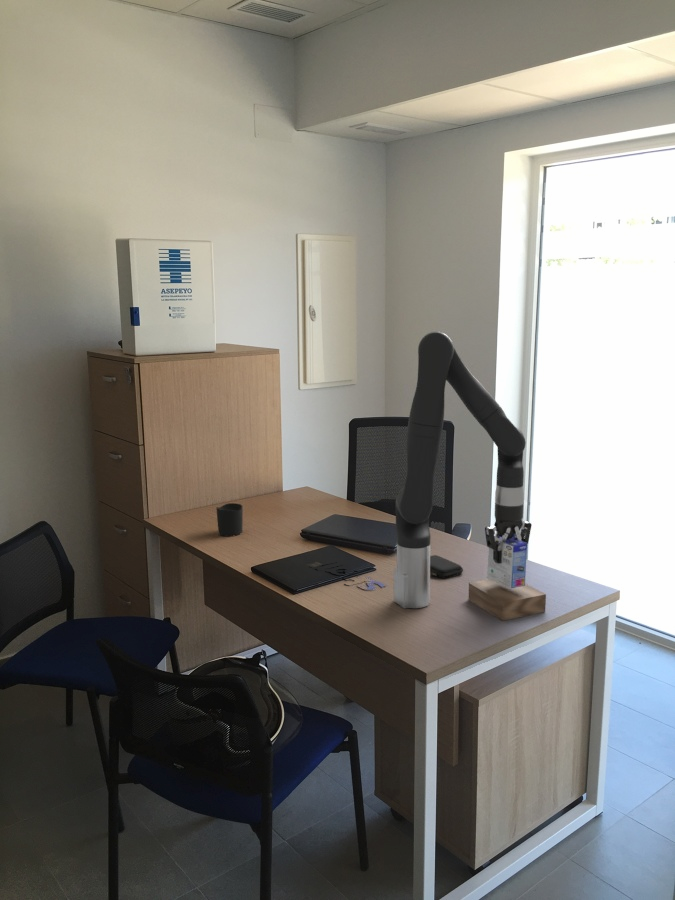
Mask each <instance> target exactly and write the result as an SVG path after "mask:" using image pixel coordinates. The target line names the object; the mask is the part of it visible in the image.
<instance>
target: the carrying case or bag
mask: <svg viewBox="0 0 675 900" xmlns="http://www.w3.org/2000/svg"><path fill="white" fill-rule="evenodd" d="M463 572H464V567H462V566H461V565H460V564H458V563H456V562H454V561H452V560H449V559H446V558H444V557H442V556H441V555H437V554H433V555H430V576H431V575H432V576H434V577H436V578H440V579H447V578H451V577H455V576H458V575H462V573H463Z"/></svg>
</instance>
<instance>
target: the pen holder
mask: <svg viewBox="0 0 675 900" xmlns="http://www.w3.org/2000/svg"><path fill="white" fill-rule="evenodd" d="M215 509H216V517H217V518H216V519H217V531H218V534H219V535H220V536H222V535H224V536H223V537H234V536H233V535H236V536H239V535H241V534H242V533H243V511H244V510H243V509H244V508H243V505H242V504H240V503H235V502H234V503H231V502H230V503H225V504H223V505H221V506H220V507H218V506H217V507H216V508H215ZM240 533H241V534H240ZM238 534H239V535H238Z"/></svg>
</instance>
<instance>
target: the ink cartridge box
mask: <svg viewBox="0 0 675 900" xmlns="http://www.w3.org/2000/svg"><path fill="white" fill-rule="evenodd" d="M515 536H516V534H515V533H514V535H513V537H512V538H508V539H506V541H505V543H504V544H503V546H502V548H501V551H502V553H501V563H500V564H498V563H496V562H495V561H494V560H493V549H491V548H489V547H488V551H487V552H488V554H487V571H486V573H487V576H486V578H487V579H490V580H492V581H495V582H497V583H499V584H502V585H504V586H506V587H509V588H515V587H520V586H525V583H526V575H527V574H526V573H527V571H526V570H527V552H528V550H527V549H528V544H527V543H526V542H523V541H520V540H516V539H514V538H515ZM494 537H495V535H494ZM501 538H502V537H500V539H501ZM498 543H499V541H498Z"/></svg>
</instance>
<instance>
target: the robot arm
mask: <svg viewBox="0 0 675 900" xmlns="http://www.w3.org/2000/svg"><path fill="white" fill-rule="evenodd" d="M417 354H418V355H417V356H418V359H417V361H418V364H417V365H418V366H417V381H416V387H415V392H414V395H413V398H412V402H411V406H410V410H409V415H408V424H407V429H406V431H407V432H406V444H405V445H406V447H405V448H406V477H405V482H404V486H403V487H402V488H401V489H400V490H399V491H398V493H397V495H396V498H395V532H396V533H395V534H396V568H394V569H393V602H394V603H396V605H397V604H398V605H399V606H400V607H401V608H403V609H419V608H420V609H421V608H425V607H427V606H429V605H430V604H431V603H430V602H431V600H430V599H431V594H430V593H431V585H430V584H431V575H430V556H431V531H430V516H431V513H432V511H433V506H434V505H433V504H434V500H433V498H434V479H435V470H436V467H437V463H438V456H439V451H440V447H441V441H442V436H443V435H442V434H443V428H444V420H445V389H446V382H448V383H449V385H450V386H451V388H452V389H453V390H454V392H456V394H457V396H458V397H459V399H460V400H461V402H462V404H463V405H464V406H465V408H466V409H467V410H468V411H469V413H470V414H471V415H472V416H473V418H474V419H475V420H476V421H477V422H478V424H479V425H480V426H481V427H483V429H484V430H485V431H486V433H487V434H488V435H489V438H491V440H492V442H493V443H494V444H495V445H496V447H497V467H496V468H497V470H496V486H495V490H494V494H495V496H494V518H495V521H494V524H493V525H492V526H490V527H489V526H485V527H484V534H485V542H486V546H487V548H488V549H489V548H491V549H493V560H494V561H495V562H496V563H498V564H500V563H501V553H502V551H501V548H502V546H503V544H504V543H505V541H506V539H508V538H512V537H513V535H514V533H515V534H516V536H515V538H514V539H516V540H520V541H523V542H526V543H527V545H528V544H529V540H530V535H531V530H532V523H531V522H529V521H525V520H524V521H523V518H524V499H525V498H524V497H525V496H524V495H525V494H524V466H523V465H524V463H523V460H524V459H523V457H524V450H525V448H526V444H527V443H526V438H525V436H524V433H523V431H522V430H521V429H520V428H518V427H517V426H515V425H514V424H513V423H512V421H511V420H510V419H509V418H508V417H507V415H506V413H505V411H504V409H503V408H502V406H500V404H499V403H498V402H497V401H496V399H495V398H494V397H493V395H492V394H491V393H490V392H489V391H488V390H487V389H486V388H485V387H484V385H483V384H482V383H481V382H480V381H479V380H478V379H477V378H476V377H475V376H474V374H473V373H472V372H471V371H470V370H469V369H468V367H467V366H466V365H465V363H464V362H463V360H462V359H461V357H460V355H459V353H458V351H457V350H456V348H455V346H454V342H453V340H452V338H451V337H450V336H449V335H447V333H445V332H442V331H431V332H428V333H427V334H425V335H424V336H423V337H422V338H421V340H420V341H419V343H418V348H417ZM494 536H495V537H494ZM500 537H502V538H501V539H500ZM498 541H499V543H498Z"/></svg>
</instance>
